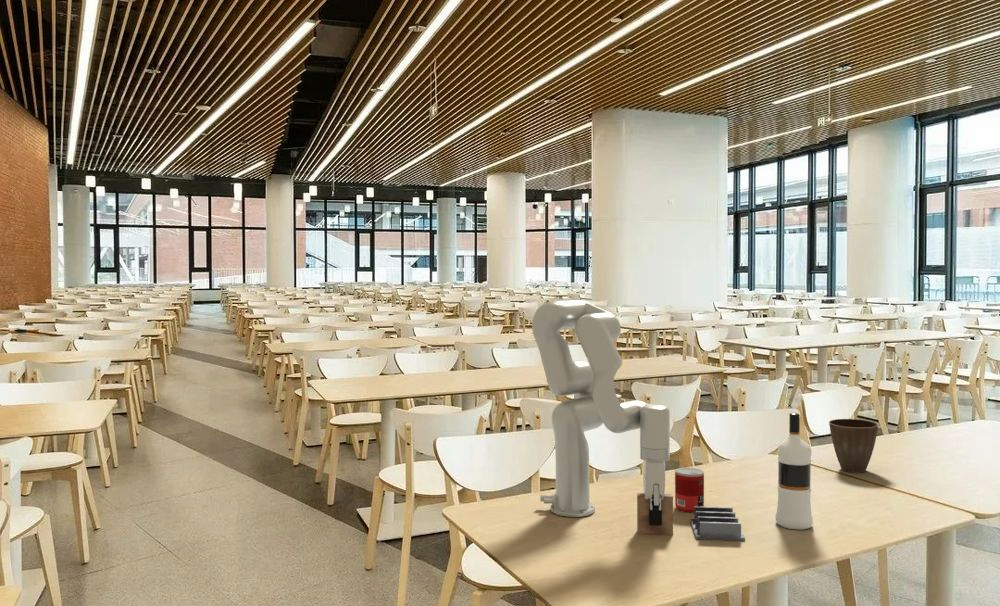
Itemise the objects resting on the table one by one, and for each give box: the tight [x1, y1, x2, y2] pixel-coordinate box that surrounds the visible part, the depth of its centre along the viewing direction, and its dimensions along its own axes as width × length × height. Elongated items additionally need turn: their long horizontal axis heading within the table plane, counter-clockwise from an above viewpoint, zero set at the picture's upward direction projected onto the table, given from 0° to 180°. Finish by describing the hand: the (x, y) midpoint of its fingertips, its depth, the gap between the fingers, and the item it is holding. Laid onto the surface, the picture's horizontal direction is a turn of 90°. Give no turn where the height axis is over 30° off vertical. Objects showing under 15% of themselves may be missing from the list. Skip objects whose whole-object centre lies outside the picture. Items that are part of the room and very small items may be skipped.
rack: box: [689, 506, 746, 542], centre depth 198 cm, size 12×13×4 cm
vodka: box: [775, 412, 814, 531], centre depth 201 cm, size 9×9×30 cm
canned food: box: [674, 467, 705, 514], centre depth 216 cm, size 8×8×11 cm
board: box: [636, 492, 674, 536], centre depth 197 cm, size 9×2×10 cm, turn 82°
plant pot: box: [828, 418, 879, 473], centre depth 255 cm, size 15×15×16 cm
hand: (655, 522), depth 197 cm, fingers closed on board, 2 cm apart
